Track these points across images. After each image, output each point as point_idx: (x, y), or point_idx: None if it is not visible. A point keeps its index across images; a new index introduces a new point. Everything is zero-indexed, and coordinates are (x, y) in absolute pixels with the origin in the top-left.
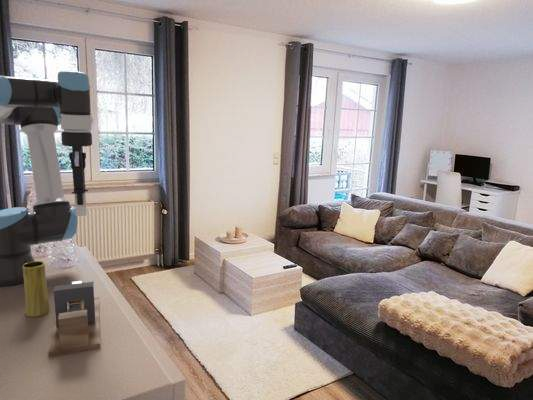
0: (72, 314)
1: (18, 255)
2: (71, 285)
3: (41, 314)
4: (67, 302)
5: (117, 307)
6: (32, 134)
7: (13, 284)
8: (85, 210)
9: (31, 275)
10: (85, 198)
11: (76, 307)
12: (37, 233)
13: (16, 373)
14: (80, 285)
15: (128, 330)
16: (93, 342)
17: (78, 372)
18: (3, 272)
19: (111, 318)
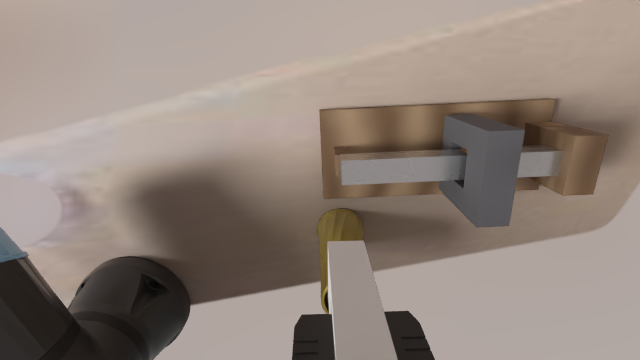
0: (585, 167)
1: (133, 332)
2: (490, 187)
3: (360, 220)
4: (330, 179)
5: (373, 62)
6: None
7: (186, 293)
8: (369, 264)
9: None
10: (379, 334)
11: None
12: (61, 340)
13: (556, 224)
14: (502, 164)
15: (504, 37)
16: (545, 112)
17: (610, 133)
18: (172, 329)
19: (427, 77)
